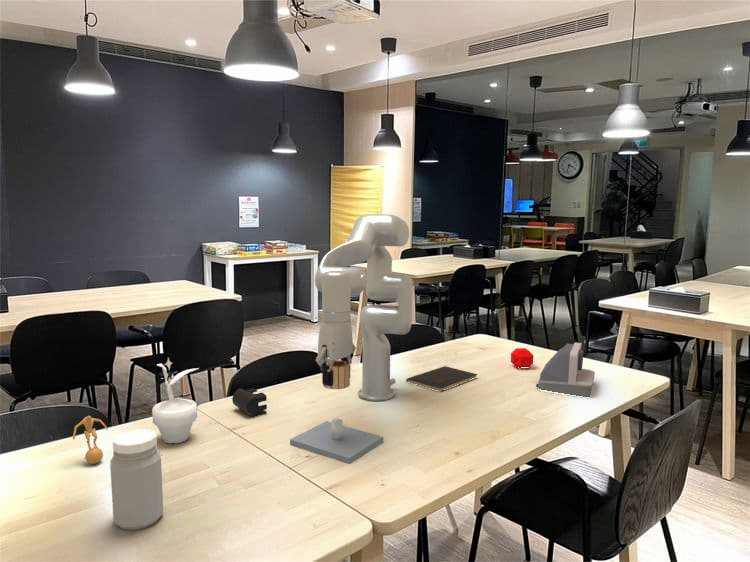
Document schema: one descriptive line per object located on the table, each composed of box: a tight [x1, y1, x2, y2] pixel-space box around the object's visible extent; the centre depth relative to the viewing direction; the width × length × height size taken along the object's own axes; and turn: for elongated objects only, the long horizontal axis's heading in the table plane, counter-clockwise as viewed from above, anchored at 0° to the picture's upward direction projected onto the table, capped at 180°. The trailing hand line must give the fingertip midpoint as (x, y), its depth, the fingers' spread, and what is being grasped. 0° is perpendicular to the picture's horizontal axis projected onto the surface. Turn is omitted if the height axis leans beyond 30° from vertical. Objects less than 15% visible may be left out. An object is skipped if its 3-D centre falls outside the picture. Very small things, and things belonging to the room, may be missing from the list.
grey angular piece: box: [535, 342, 596, 398], centre depth 203 cm, size 21×21×15 cm
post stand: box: [289, 418, 384, 464], centre depth 153 cm, size 16×20×6 cm
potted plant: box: [151, 357, 200, 445], centre depth 154 cm, size 13×12×25 cm
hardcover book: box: [405, 365, 478, 392], centre depth 210 cm, size 16×23×2 cm
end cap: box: [231, 387, 268, 418], centre depth 176 cm, size 10×7×7 cm
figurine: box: [72, 415, 109, 465], centre depth 141 cm, size 8×6×12 cm
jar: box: [109, 428, 164, 531], centre depth 115 cm, size 10×10×18 cm
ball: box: [510, 347, 534, 368], centre depth 227 cm, size 8×8×8 cm
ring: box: [322, 359, 351, 390], centre depth 151 cm, size 7×7×6 cm
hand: (336, 380), depth 151 cm, fingers closed on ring, 7 cm apart
